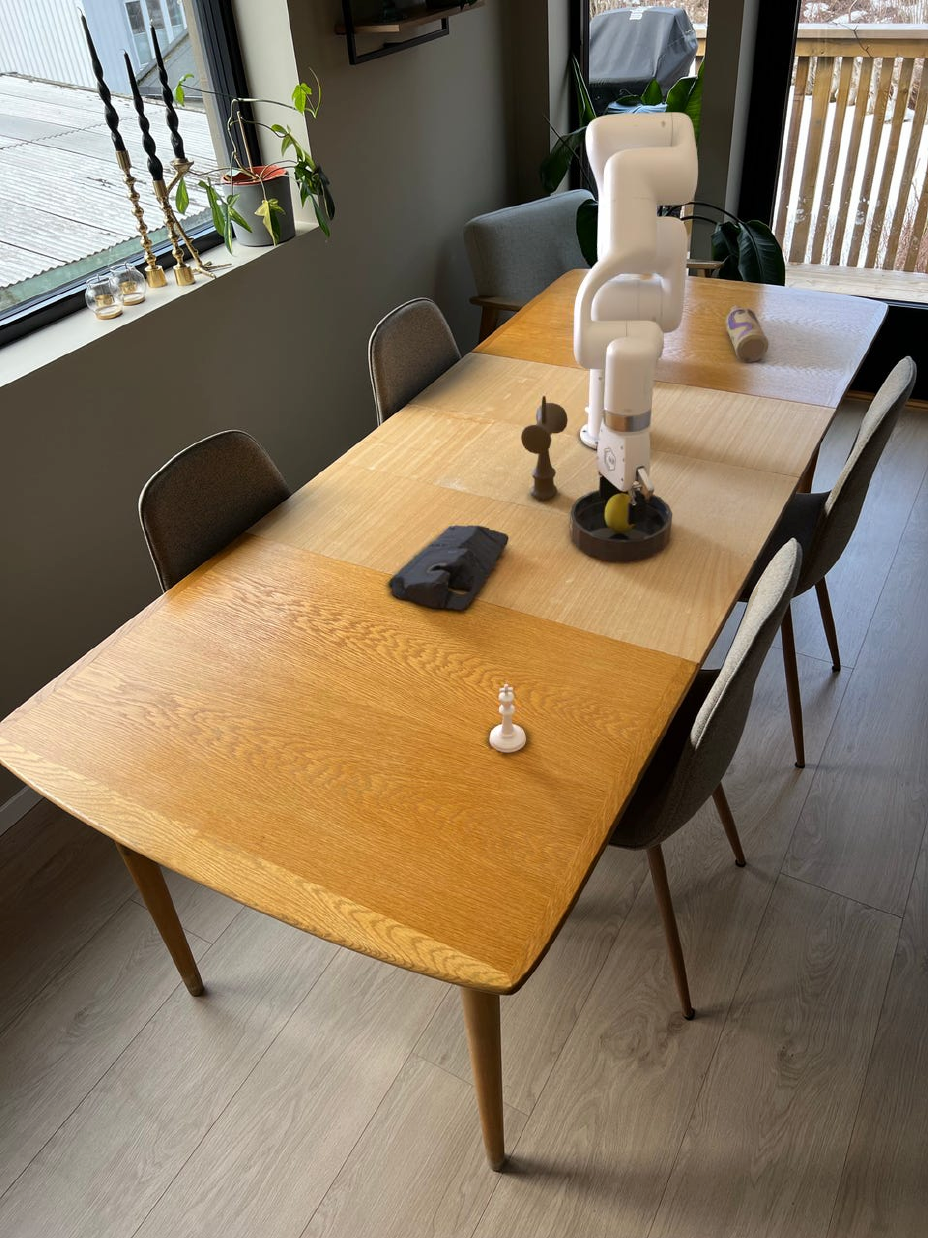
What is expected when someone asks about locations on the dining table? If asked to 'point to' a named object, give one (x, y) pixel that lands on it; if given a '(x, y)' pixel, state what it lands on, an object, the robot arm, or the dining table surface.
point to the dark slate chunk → (450, 567)
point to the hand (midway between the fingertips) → (621, 508)
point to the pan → (612, 546)
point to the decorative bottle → (746, 334)
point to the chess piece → (507, 725)
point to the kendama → (544, 447)
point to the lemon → (618, 513)
